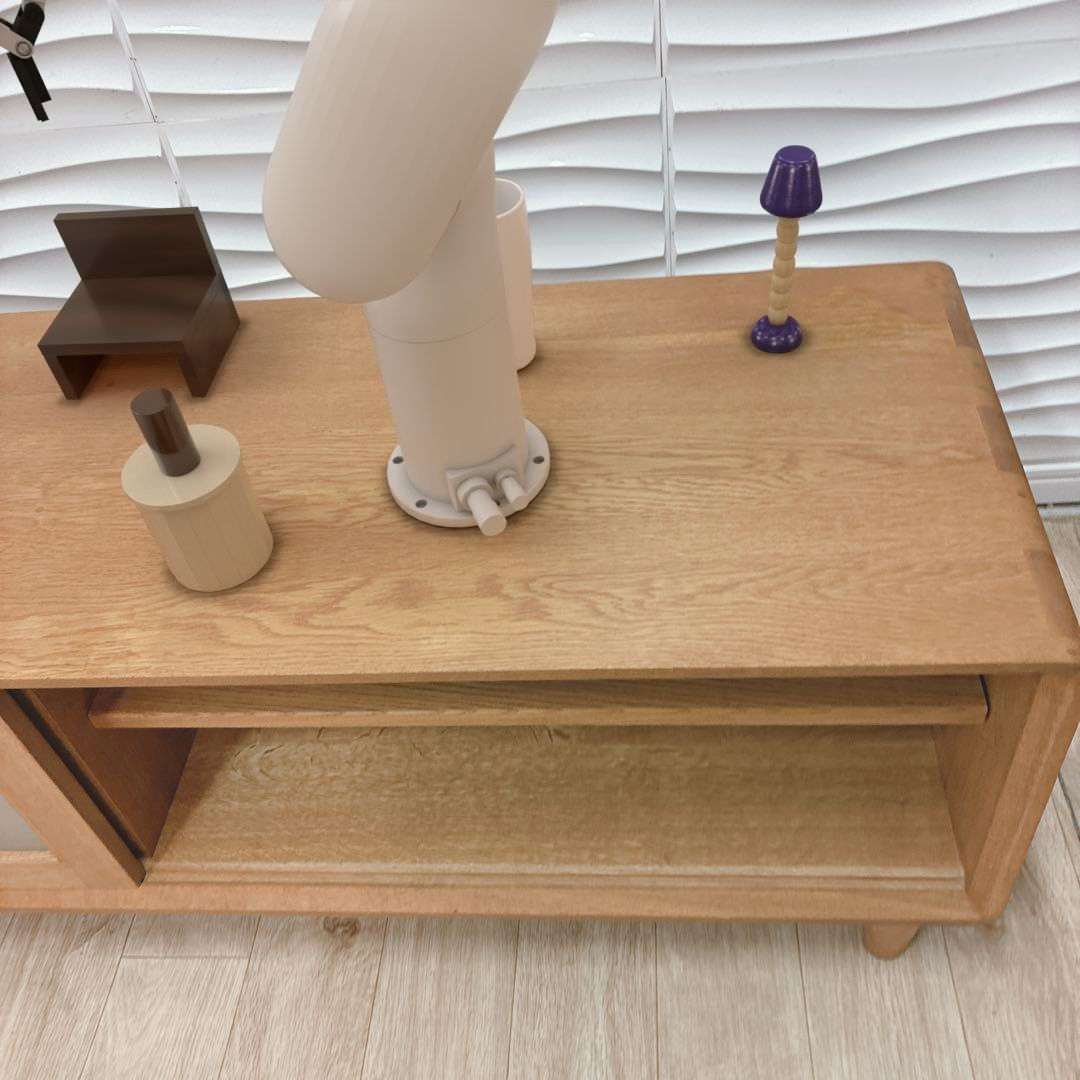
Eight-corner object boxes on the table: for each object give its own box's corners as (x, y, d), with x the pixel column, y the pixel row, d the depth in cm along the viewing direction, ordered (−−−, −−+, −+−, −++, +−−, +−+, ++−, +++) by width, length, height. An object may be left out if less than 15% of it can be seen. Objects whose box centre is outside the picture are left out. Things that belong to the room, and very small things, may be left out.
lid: (257, 491, 72) (225, 415, 68) (136, 534, 71) (95, 459, 66) (231, 422, 78) (201, 347, 73) (119, 461, 76) (80, 386, 71)
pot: (284, 568, 78) (249, 483, 72) (181, 606, 77) (137, 523, 71) (260, 504, 83) (226, 420, 77) (164, 539, 82) (121, 456, 76)
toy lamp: (807, 322, 92) (824, 135, 80) (810, 355, 89) (829, 166, 77) (750, 323, 93) (758, 139, 81) (751, 357, 89) (760, 169, 77)
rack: (205, 396, 94) (155, 278, 85) (66, 400, 95) (3, 284, 87) (240, 322, 101) (198, 206, 92) (111, 326, 103) (58, 213, 94)
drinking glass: (536, 383, 90) (514, 222, 79) (459, 380, 91) (427, 221, 81) (552, 335, 94) (533, 176, 84) (478, 332, 96) (450, 176, 85)
